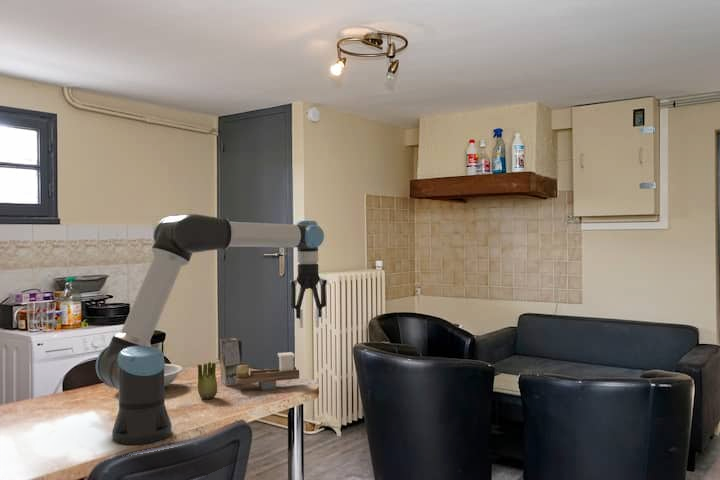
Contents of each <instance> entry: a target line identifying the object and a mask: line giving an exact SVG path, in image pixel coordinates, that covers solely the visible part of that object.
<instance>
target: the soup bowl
mask: <svg viewBox="0 0 720 480" xmlns="http://www.w3.org/2000/svg"><path fill="white" fill-rule="evenodd" d="M183 370H184V367H183V366H181V365H178V364H173V363H165V366H164V388H165V387H168V386H169V385H171V383H173V382H174V381H175V380H176V379H177V377H178V375H179V374H180V373H181V372H183Z"/></svg>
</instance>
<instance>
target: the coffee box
mask: <svg viewBox="0 0 720 480" xmlns="http://www.w3.org/2000/svg"><path fill="white" fill-rule="evenodd" d="M242 341H243V340H241V339H240V338H238V337H225V338H220V339H219V343H220V345H219V347H220V352H219V353H220V382H221V383H222V384H223V385H224V386H226V387H229V386H237V385H239V386H241V384H236V382H235V376H237V366H239V365H243V349H242V348H243V346H242V343H243V342H242Z"/></svg>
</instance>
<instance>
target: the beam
mask: <svg viewBox="0 0 720 480" xmlns="http://www.w3.org/2000/svg"><path fill="white" fill-rule="evenodd" d="M249 367H250V365H249V364H242V365H239V366H237V376H235V382H236V384H240V385H246V384H255V383H258V388H259V389H260V390H261V392H267V390H268V391H276V390H277V381H288V380H297V379H298V380H299V379H300V370H299V369H297V367H296V366H293V368H294V370H289V371H279V367H278V368H269V369H268V368H264V369H256V370H254V369H253V370H250V369H249ZM249 372H250V373H249Z"/></svg>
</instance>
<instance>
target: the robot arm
mask: <svg viewBox="0 0 720 480" xmlns="http://www.w3.org/2000/svg"><path fill="white" fill-rule="evenodd" d="M324 233H325V232H324V230H323V228H322V227H321V226H319V224H318V222H317V221H316V220H298V221H297V222H296V224H291V223H290V224H287V223H269V222H268V223H267V222H249V221H248V222H247V221H246V222H244V221H243V222H242V221H230V220H229V219H228V218H227V217H217V216H208V215H204V214H197V213H196V214H195V213H189V214H171V215H169V216H167V217H164V218H162V219H160V221H158V223H157V224H156V226H155V227H154V230H153V240H154V243H153V245H152V248H151V250H150V251H151V252H152V254H153V255H152V256H153V258H152V261H151V262H150V265H149V267H148V269H147V271H146V274H145V276H144V278H143V281H142V283H141V286H140V288H139V291H138V292H137V295H136V297H135V299H134V302H133V304H132V306H131V308H130V310H129V313H128V315H127V317H126V319H125V322H124V324H123V326H122V329H121V331H120V332H118V333H115V334H113V335H112V338H111V341H110V342H109V344H108V346H106V347H105V348H104V349H102V350H101V352H100V353H99V354H98V355H97V358H96V361H95V371H96V375H97V376H98V378H99V379H100V380H101V381H102V383H104V384H105V385H106V386H108V387H110V388H114V389H115V390H118V412H117V414H116V418H115V421H114V424H113V428H112V431H111V433H112V435H111V437H112V441H113V442H114V443H116V444H120V445H131V446H132V445H143V444H149V443H154V442H159V441H161V440H163V439H165V438H167V437H169V436H171V434H172V433H173V431H172V429H173V428H172V426H173V425H172V421H171V419H170V416H169V414H168V410H167V407H166V404H165V403H166V402H165V387H164V366H165V364H166V361H165V358H164V353H163V351H162V350H161V349H160V348H157V347H156V346H152V344H151V339H152V337H153V335H154V332H155V330H156V328H157V325H158V323H159V320H160V319H161V316H162V314H163V312H164V309H165V306H166V304H167V302H168V299H169V297H170V295H171V292H172V290H173V287H174V286H175V283H176V281H177V278H178V275H179V274H180V271H181V269H182V267H184V266H186V265H188V264H189V263H190V260H191V259H192V256H193V254H194V253H196V254H197V253H202V252H208V251H209V252H210V251H221V250H222V251H224V250H227V249H228V248H229V247H235V248H236V247H241V248H243V247H244V248H245V247H246V248H249V247H251V248H253V247H254V248H257V247H258V248H277V249H281V248H282V249H283V248H297V250H296V251H297V263H298V264H297V277H296V279H293V280H290V281H289V285H290V308H292V309H295V318H296V319H298V328H300V329H303V328H304V325H303V321H304V319H303V318H304V317H303V315H304V314H303V309H301V306H302V304H303V299H304V296H305V292H306V290H308V289H310V290H311V292H312V296H313V299H314V302H315V306H316V308H314V327H316V328H319V326H320V318H322V309H323V308H324V307H326V306H327V293H326V291H327V290H326V289H327V287H326V285H327V284H328V283H327V282H328V281H327V280H326V279H324V278H320V275H319V264H318V262H319V247H320V246H321V245H322V244H323V242H324V239H325V234H324ZM318 283H319V285H320V296H319V293H318V289H317V285H318ZM297 284H298V285H299V286H300V288H299V293H298V295H297V296H298V297H296V294H297V288H296V287H297ZM296 301H297V302H296Z"/></svg>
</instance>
